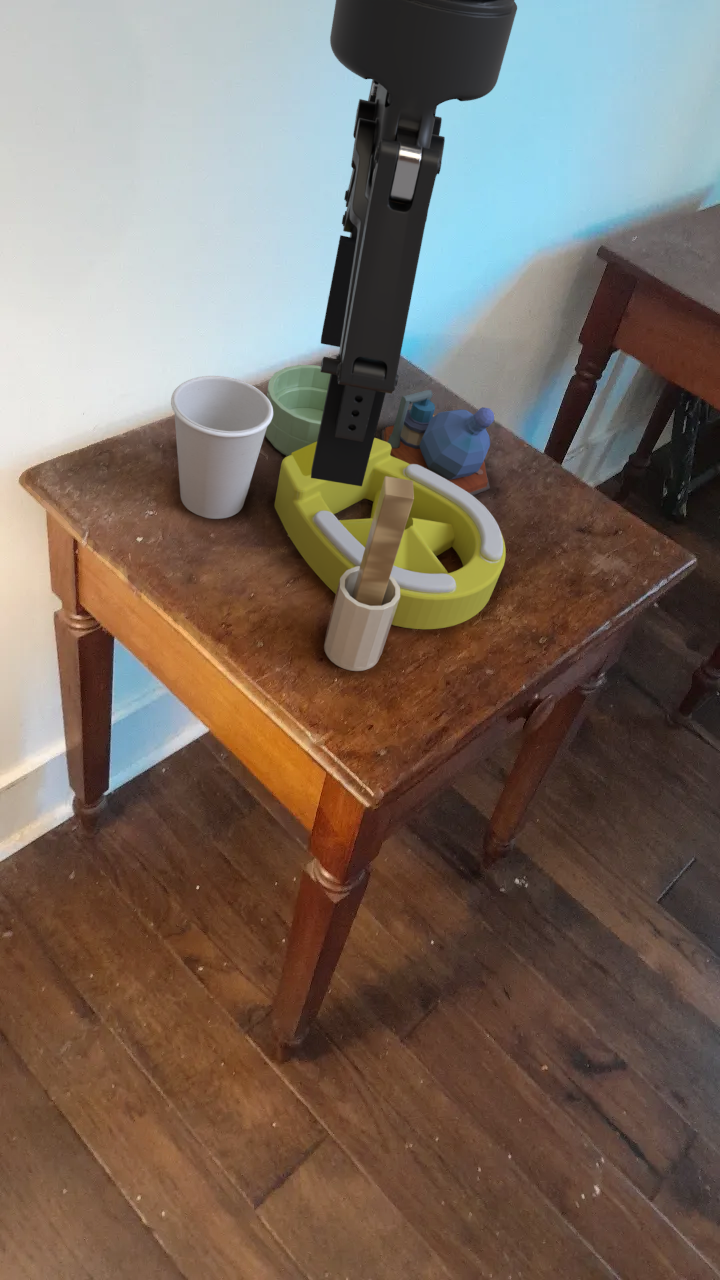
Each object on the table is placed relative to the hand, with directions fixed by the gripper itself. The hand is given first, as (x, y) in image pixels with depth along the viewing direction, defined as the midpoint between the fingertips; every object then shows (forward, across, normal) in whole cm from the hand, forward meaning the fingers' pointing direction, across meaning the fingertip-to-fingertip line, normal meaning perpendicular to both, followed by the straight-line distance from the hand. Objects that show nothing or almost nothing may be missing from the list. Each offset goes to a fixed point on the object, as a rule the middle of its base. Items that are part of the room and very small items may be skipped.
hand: (339, 406), depth 54 cm
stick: (+24, +4, -6) cm, 25 cm away
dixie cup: (+25, +20, +8) cm, 33 cm away
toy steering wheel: (+25, +18, -8) cm, 32 cm away
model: (+25, +32, -14) cm, 43 cm away
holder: (+25, +4, -6) cm, 26 cm away
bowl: (+25, +32, -1) cm, 41 cm away
